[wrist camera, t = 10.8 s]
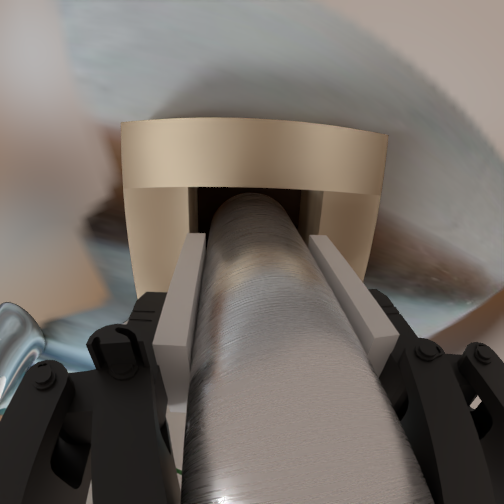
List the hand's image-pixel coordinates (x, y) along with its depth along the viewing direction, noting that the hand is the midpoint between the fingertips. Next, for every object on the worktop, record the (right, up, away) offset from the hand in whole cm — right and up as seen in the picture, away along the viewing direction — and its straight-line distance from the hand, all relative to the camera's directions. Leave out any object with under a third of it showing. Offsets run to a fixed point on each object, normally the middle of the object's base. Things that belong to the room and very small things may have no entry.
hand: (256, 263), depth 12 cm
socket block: (0, +2, +5) cm, 5 cm away
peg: (0, +2, +3) cm, 4 cm away
